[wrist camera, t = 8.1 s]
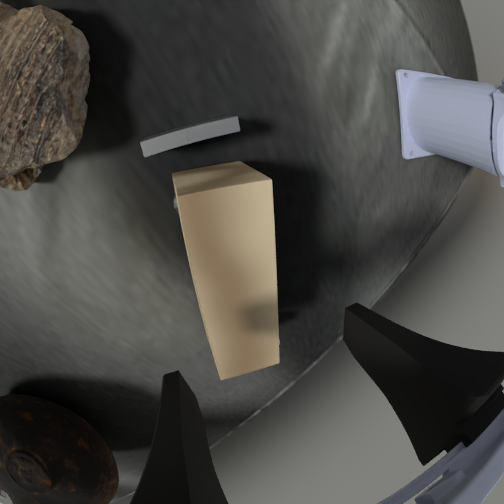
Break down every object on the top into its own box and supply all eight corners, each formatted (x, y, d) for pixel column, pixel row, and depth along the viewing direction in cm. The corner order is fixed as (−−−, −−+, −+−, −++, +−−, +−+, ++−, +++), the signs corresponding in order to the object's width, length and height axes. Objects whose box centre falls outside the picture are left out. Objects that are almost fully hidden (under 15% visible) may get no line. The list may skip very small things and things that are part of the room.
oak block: (239, 161, 16) (272, 179, 12) (254, 317, 22) (279, 362, 18) (171, 173, 15) (178, 196, 11) (205, 330, 21) (221, 380, 17)
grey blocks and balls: (224, 116, 16) (237, 116, 13) (266, 320, 24) (280, 344, 22) (143, 138, 15) (140, 142, 12) (212, 340, 23) (220, 365, 21)
